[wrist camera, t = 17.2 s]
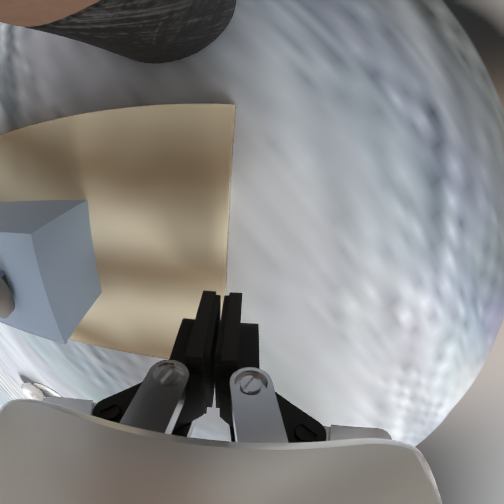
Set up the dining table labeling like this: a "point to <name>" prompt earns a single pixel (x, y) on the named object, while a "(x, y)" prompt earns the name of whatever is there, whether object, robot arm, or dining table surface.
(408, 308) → the dining table surface
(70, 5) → the travel mug
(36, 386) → the white curved piece
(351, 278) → the dining table surface
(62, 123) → the board
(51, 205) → the blue slotted peg holder
